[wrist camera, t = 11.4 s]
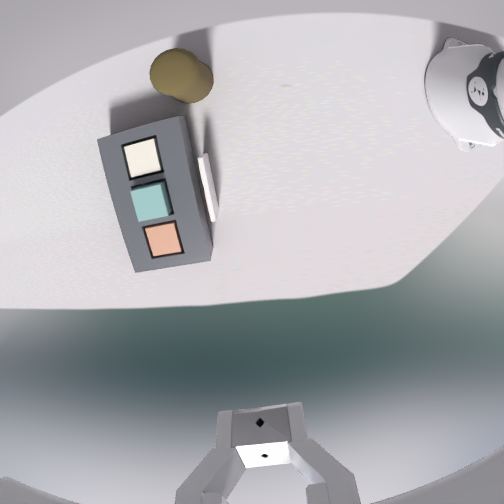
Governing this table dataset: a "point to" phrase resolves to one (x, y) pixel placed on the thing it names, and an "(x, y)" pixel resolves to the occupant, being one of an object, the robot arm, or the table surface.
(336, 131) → the table surface
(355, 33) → the table surface
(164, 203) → the teal key
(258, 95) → the table surface
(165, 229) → the terracotta key
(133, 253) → the keypad
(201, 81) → the cork
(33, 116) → the table surface
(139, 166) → the cream key
